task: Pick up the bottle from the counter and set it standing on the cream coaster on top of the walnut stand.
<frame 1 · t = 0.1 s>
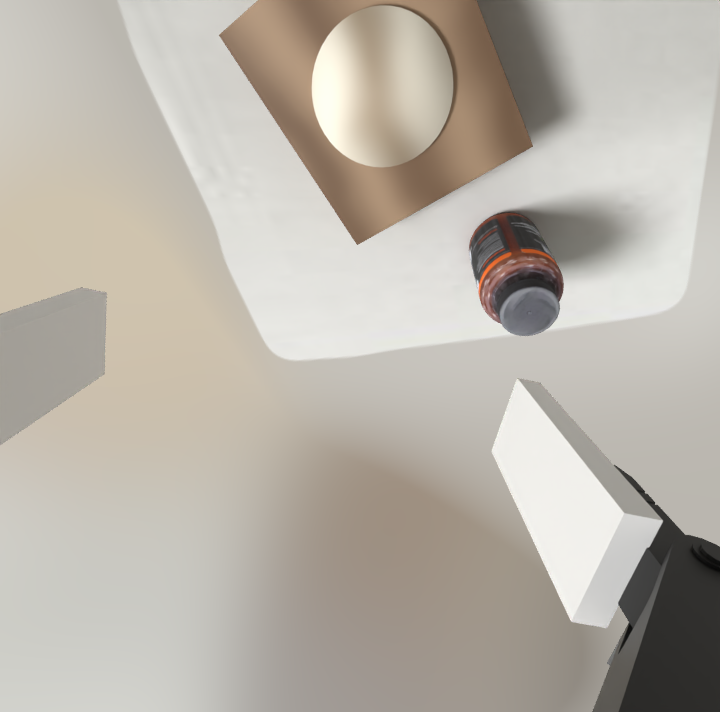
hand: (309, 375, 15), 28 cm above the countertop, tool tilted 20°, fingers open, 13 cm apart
supplement bottle: (502, 242, 41), on the countertop
walnut stand: (385, 81, 34), on the countertop
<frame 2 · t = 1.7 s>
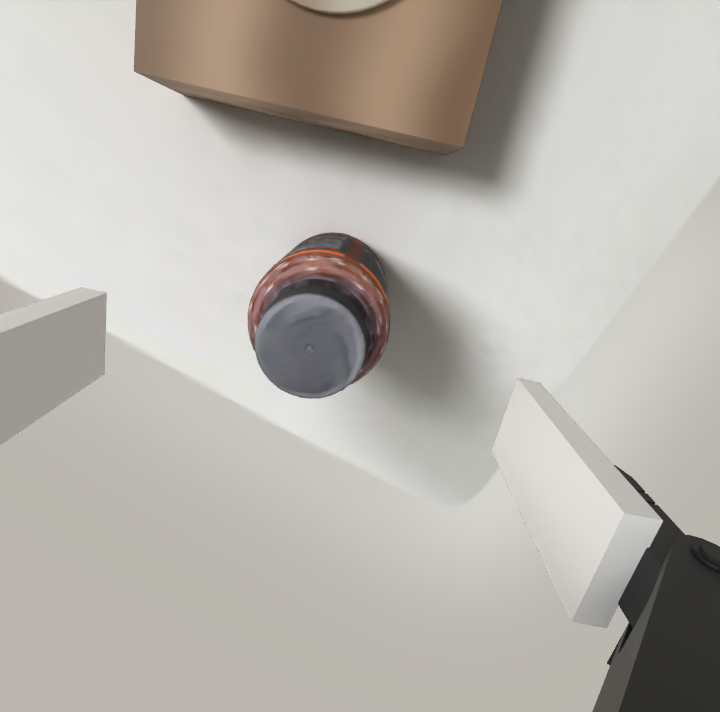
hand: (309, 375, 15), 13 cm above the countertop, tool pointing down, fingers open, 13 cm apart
supplement bottle: (334, 283, 27), on the countertop
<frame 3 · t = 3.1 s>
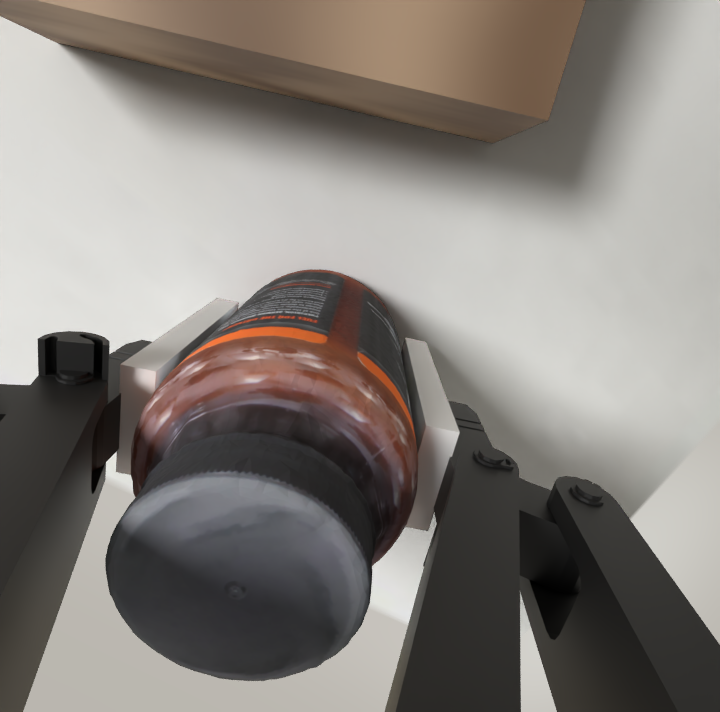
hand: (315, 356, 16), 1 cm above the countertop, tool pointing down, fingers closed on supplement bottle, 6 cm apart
supplement bottle: (320, 344, 18), on the countertop, touching gripper
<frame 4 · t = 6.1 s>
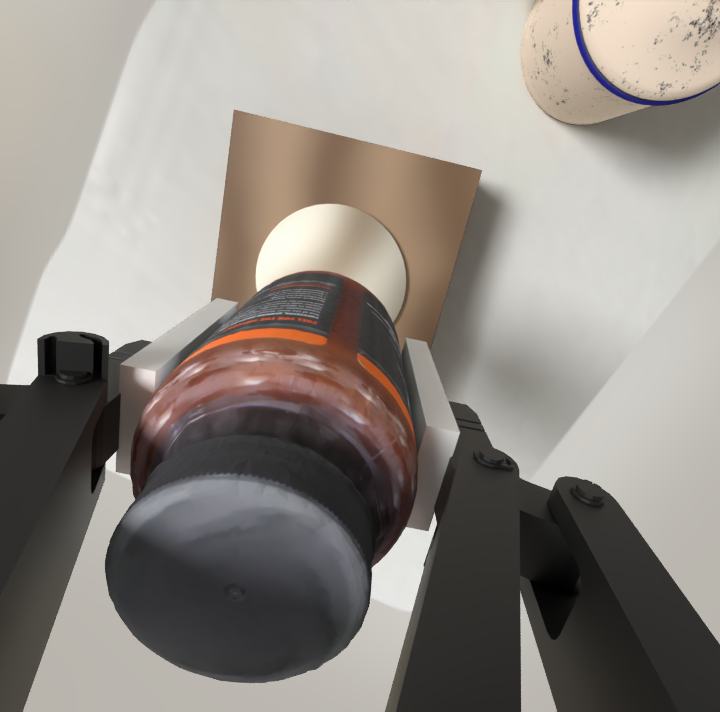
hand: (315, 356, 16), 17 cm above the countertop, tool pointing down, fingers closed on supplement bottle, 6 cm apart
supplement bottle: (320, 345, 18), point 16 cm above the countertop, touching gripper
cream ceramic oval pot: (569, 35, 28), on the countertop
walnut stand: (336, 269, 33), on the countertop
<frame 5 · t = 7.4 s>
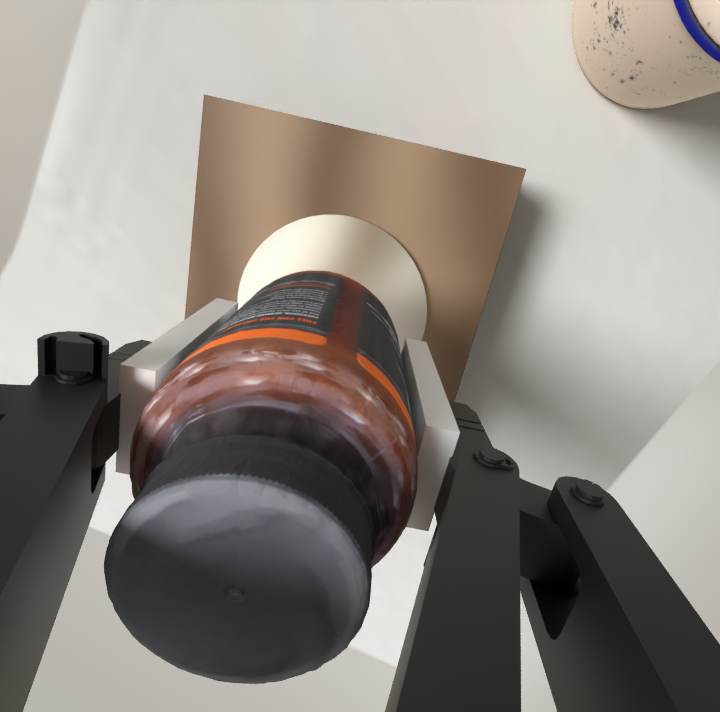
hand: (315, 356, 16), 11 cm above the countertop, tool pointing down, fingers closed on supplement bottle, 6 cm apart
supplement bottle: (320, 345, 18), point 10 cm above the countertop, touching gripper
walnut stand: (339, 290, 27), on the countertop
when the fingers open (8 cm above the countertop, at t = 8.8 s): supplement bottle drops 1 cm, resting on walnut stand.
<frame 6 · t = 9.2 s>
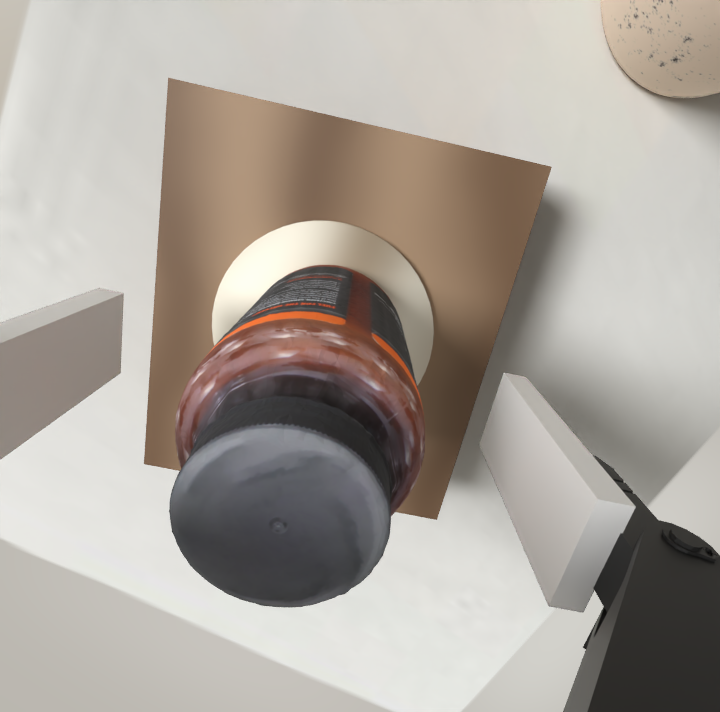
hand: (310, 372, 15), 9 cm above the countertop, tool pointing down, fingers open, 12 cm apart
supplement bottle: (329, 334, 19), point 5 cm above the countertop, touching walnut stand
walnut stand: (332, 305, 24), on the countertop
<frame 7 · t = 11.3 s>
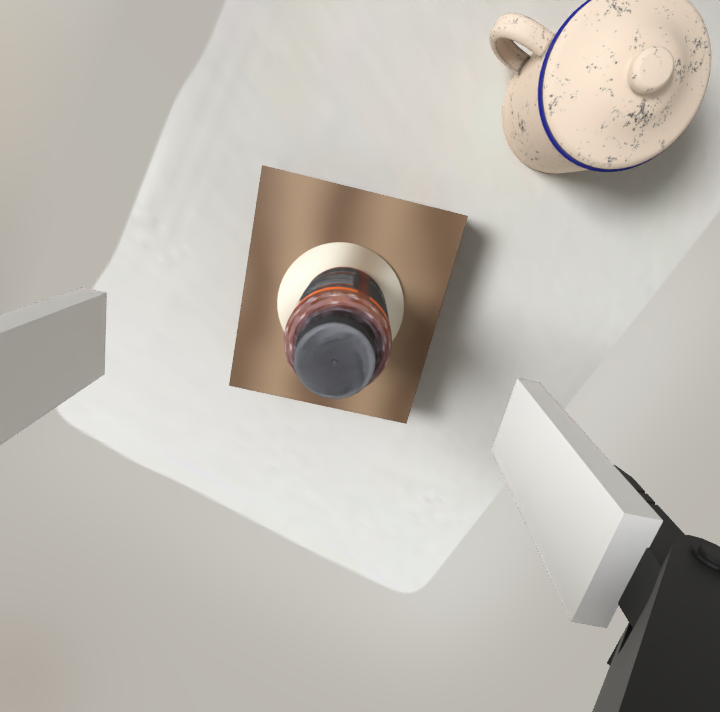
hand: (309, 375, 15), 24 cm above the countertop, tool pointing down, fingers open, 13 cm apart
supplement bottle: (344, 306, 33), point 5 cm above the countertop, touching walnut stand
cream ceramic oval pot: (543, 99, 33), on the countertop
walnut stand: (343, 292, 38), on the countertop
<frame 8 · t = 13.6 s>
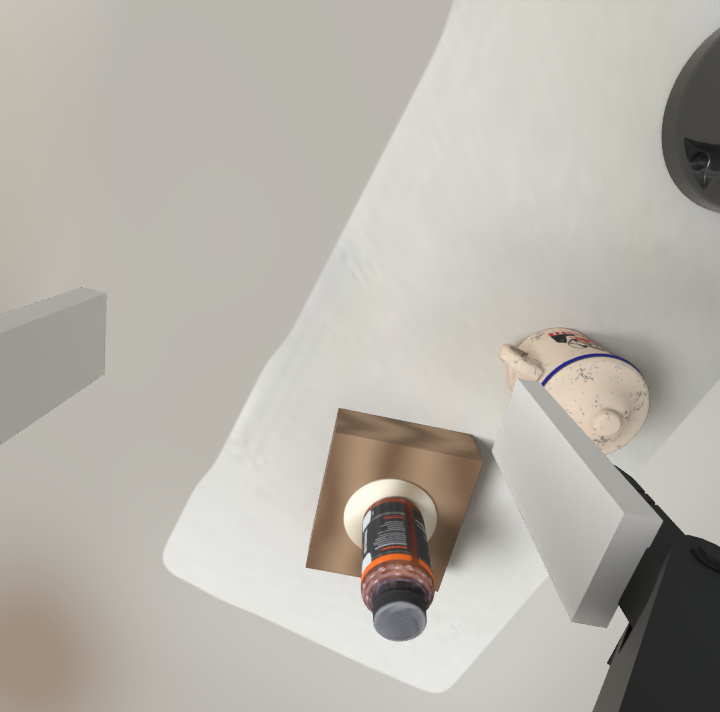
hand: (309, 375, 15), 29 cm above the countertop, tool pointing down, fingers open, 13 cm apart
supplement bottle: (392, 518, 45), point 5 cm above the countertop, touching walnut stand
cream ceramic oval pot: (538, 361, 45), on the countertop
walnut stand: (388, 486, 50), on the countertop
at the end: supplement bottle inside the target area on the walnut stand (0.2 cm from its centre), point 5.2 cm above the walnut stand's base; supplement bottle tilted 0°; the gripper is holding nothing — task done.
